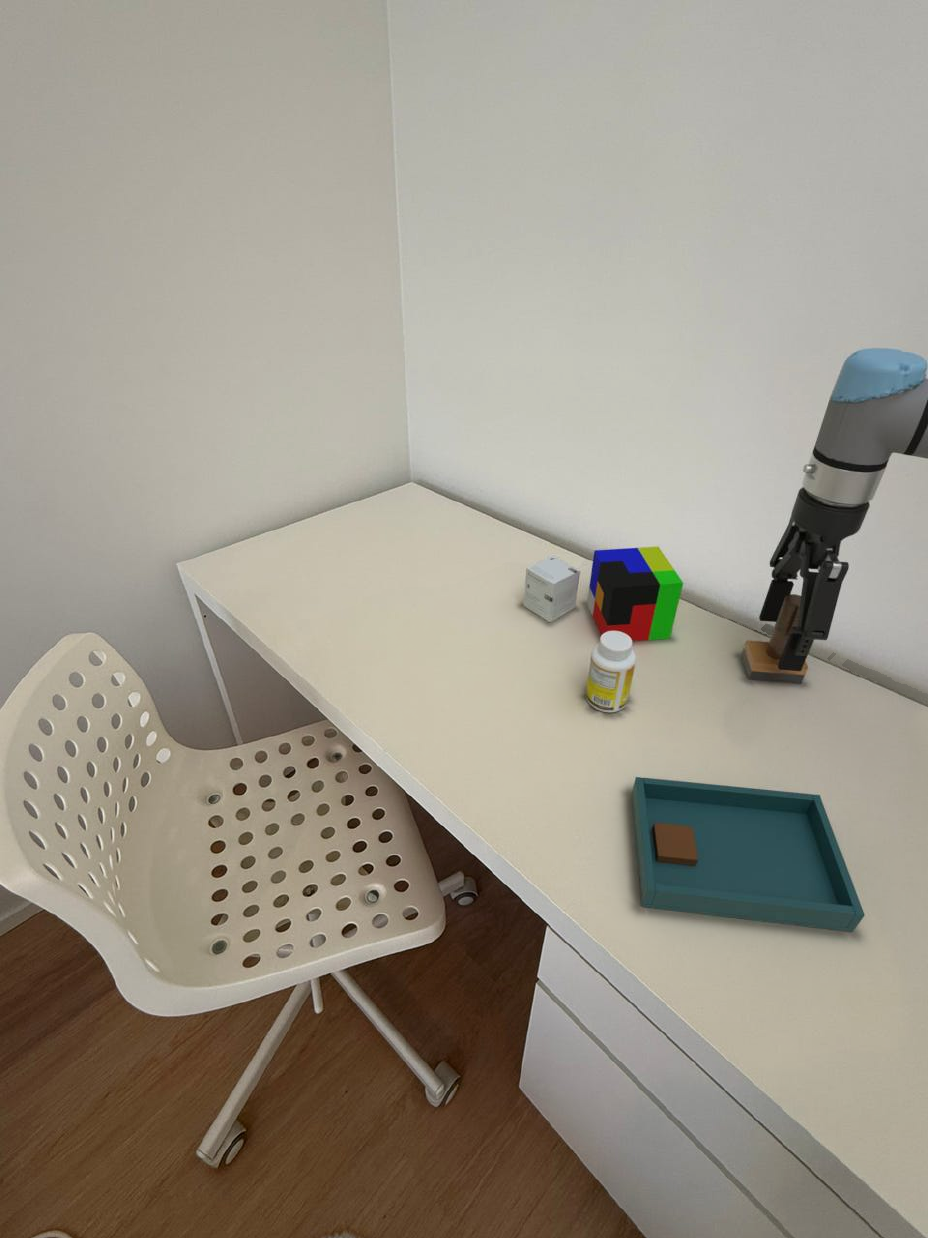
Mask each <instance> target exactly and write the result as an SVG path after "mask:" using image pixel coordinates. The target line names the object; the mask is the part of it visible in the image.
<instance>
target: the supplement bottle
mask: <svg viewBox="0 0 928 1238" xmlns="http://www.w3.org/2000/svg"><path fill="white" fill-rule="evenodd" d="M590 654H591V655H590V661H589V669H588V674H587V675H588V676H587V681H586V682H587V683H586V689H585V697H586V700H587V702H588V704H589V705H590V706H591V707H592V708H594V709H595V710H598V711H600V712H604V713H615V712H619V711H621V710H623V709H624V708H625V707H626V706H627V704H628V702H629V697H630V692H631V687H632V682H633V677H634V673H635V668H636V662H637V656H636V655H637V654H636V652H635V650H634V649H633V641H632V639H631V638H630V637H629V636H628V635H627V634H625V633H623V632H620V631H608V632H605V633H604V634H602V636H601V635H600V638H599V642H598V643H597V644H595V646H593V648H592V650H591V653H590Z"/></svg>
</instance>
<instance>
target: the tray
mask: <svg viewBox="0 0 928 1238" xmlns="http://www.w3.org/2000/svg"><path fill="white" fill-rule="evenodd" d="M631 802H632V803H631V805H632V813H633V815H632V816H633V823H634V824H633V825H634V833H635V834H634V835H635V845H636V847H635V848H636V854H637V856H636V857H637V867H638V878H639V888H640V898H641V907H642V908H648V909H649V908H650V909H657V910H665V911H673V912H682V913H689V914H691V913H692V914H699V915H706V916H707V915H708V916H716V917H724V918H732V919H740V920H748V921H749V920H750V921H758V922H766V923H775V924H781V925H782V924H783V925H791V926H798V927H807V928H817V929H824V930H832V931H841V932H848V933H850V932H851V933H853V932H854V931H855V930H856V928H858V925H860V923H861V921H862V920H863V919H864V917H865V916H866V915H865V912H864V910H863V907H862V904H861V902H860V899H859V896H858V894H857V891H856V888H855V885H854V882H853V880H852V878H851V875H850V872H849V869H848V866H847V864H846V861H845V859H844V857H843V854H842V851H841V848H840V845H839V842H838V840H837V837H836V835H835V832H834V829H833V827H832V824H831V821H830V819H829V816H828V814H827V813H828V812H827V811H826V808H825V805H824V803H823V800H822V798H821V795H820V794H811V793H805V792H804V793H803V792H795V791H794V792H792V791H784V790H783V791H782V790H772V789H762V788H752V787H743V786H740V787H739V786H731V785H723V784H714V783H702V782H692V781H683V780H671V779H661V778H653V777H652V778H651V777H641V776H635V779H634V782H633V786H632V792H631ZM654 823H663V824H673V825H683V826H692V828H693V833H694V839H695V845H696V850H697V856H698V862H697V864H696V866H688V865H679V864H670V863H661V862H656V857H655V848H654V840H653V832H652V828H653V824H654Z"/></svg>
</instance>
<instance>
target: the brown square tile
mask: <svg viewBox="0 0 928 1238" xmlns="http://www.w3.org/2000/svg"><path fill="white" fill-rule="evenodd" d="M652 832H653V840H654V848H655V857H656V862H661V863H670V864H679V865H688V866H696V864H697V862H698V856H697V850H696V845H695V839H694V833H693V828H692V826H683V825H673V824H663V823H654V824H653V828H652Z"/></svg>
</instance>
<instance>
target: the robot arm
mask: <svg viewBox="0 0 928 1238" xmlns="http://www.w3.org/2000/svg"><path fill="white" fill-rule="evenodd" d="M927 369H928V361H927V359H925V358H924V357H923V356H921V355H920V354H916V353H914V352H910V351H903V350H900V349H895V348H888V347H887V348H886V347H871V348H863V349H859V350H857V351H854V352H852V353H851V354H850V355H849V356H847V358H846V359H845V360H844V362H843V364H842V366H841V369H840V372H839V374H838V377H837V379H836V382H835V384H834V387H833V389H832V391H831V394H830V397H829V400H828V403H827V406H826V409H825V413H824V415H823V417H822V418H823V419H822V421H821V424H820V428H819V431H818V434H817V436H816V440H815V443H814V446H813V450H812V453H811V456H810V458H809V462H808V463H807V464H805V465H803V467H802V468H803V469H802V471H803V473H805V474H804V476H803V479H802V482H801V483H802V484H801V485H802V487H801V488H800V489H799V490H798V493H797V495H796V499H795V501H794V504H793V507H792V510H791V513H790V518H789V520H788V524H787V526H786V528H785V530H784V533H783V534H782V536H781V538H780V540H779V542H778V544H777V546H776V549H775V550H774V552H773V554H772V555H771V558H770V560H769V567H771V568H773V569H772V571H771V578H772V579H771V582H770V584H769V587H768V590H767V593H766V596H765V599H764V602H763V605H762V608H761V610H760V613H759V616H758V619H759V622H768V623H769V622H772V623H776V621H777V618H778V616H779V613H780V610H781V607H782V605H783V602H784V599H785V597H786V596H787V595H790V594H792V591H793V588H794V585H795V584H794V582H793V580H795V581H797V580H798V573H799V576H800V577H801V579H802V588H801V594H800V596H801V601H800V608H799V616H798V623H797V627H792V628H790V631H791V633H790V635H789V638H788V640H787V643H786V645H785V648H784V651H783V653H782V656H781V658H780V661H779V664H778V668H779V670H789V671H801V670H802V668H803V665H804V663H805V661H806V660H807V657H808V656H809V653H810V650H811V648H812V646H813V644H814V641H816V640H817V641H827V640H828V638H829V635H830V631H831V627H832V623H833V619H834V617H835V616H834V615H835V611H836V608H837V604H838V600H839V596H840V592H841V589H842V584H843V581H844V580H845V578H846V575H847V574H848V571H849V569H850V568H849V566H850V564H849V562H848V561H840V560H839V558H838V557H839V555H840V549H841V544H842V541H843V540H844V539H846V538H848V537H851V536H853V535H855V534H857V533H859V531H860V530H861V527H862V526H863V523H864V521H865V519H866V516H867V513H868V511H869V508H870V507H871V505H870V501H872V500H873V499H874V497H875V495H876V492H877V490H878V487H879V485H880V483H881V480H882V479H883V476H884V474H885V471H886V469H887V467H888V463H889V461H890V458H891V456H892V455H893V454H900V455H904V456H910V457H911V456H912V457H917V458H922V459H927V460H928V378H927ZM810 570H817V571H810ZM791 580H792V581H791Z"/></svg>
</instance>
